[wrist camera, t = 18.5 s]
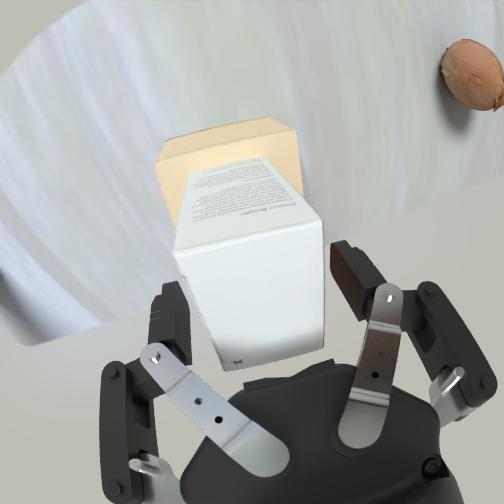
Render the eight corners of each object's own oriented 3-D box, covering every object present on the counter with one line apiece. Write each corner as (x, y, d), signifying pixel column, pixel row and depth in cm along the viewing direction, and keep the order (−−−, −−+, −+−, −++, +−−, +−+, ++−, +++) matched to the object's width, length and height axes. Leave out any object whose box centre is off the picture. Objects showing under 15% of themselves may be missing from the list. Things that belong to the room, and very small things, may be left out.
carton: (193, 225, 29) (193, 265, 24) (167, 139, 23) (156, 160, 18) (281, 204, 30) (302, 239, 24) (269, 116, 24) (291, 129, 18)
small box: (280, 248, 22) (325, 351, 14) (213, 263, 22) (224, 376, 13) (266, 152, 18) (329, 218, 9) (186, 170, 18) (169, 255, 9)
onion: (449, 83, 25) (503, 123, 20) (421, 87, 23) (486, 133, 18) (461, 31, 17) (522, 69, 12) (433, 22, 15) (511, 65, 10)
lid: (193, 271, 23) (193, 277, 23) (155, 162, 17) (153, 165, 17) (305, 244, 24) (308, 249, 23) (293, 130, 18) (296, 132, 17)
